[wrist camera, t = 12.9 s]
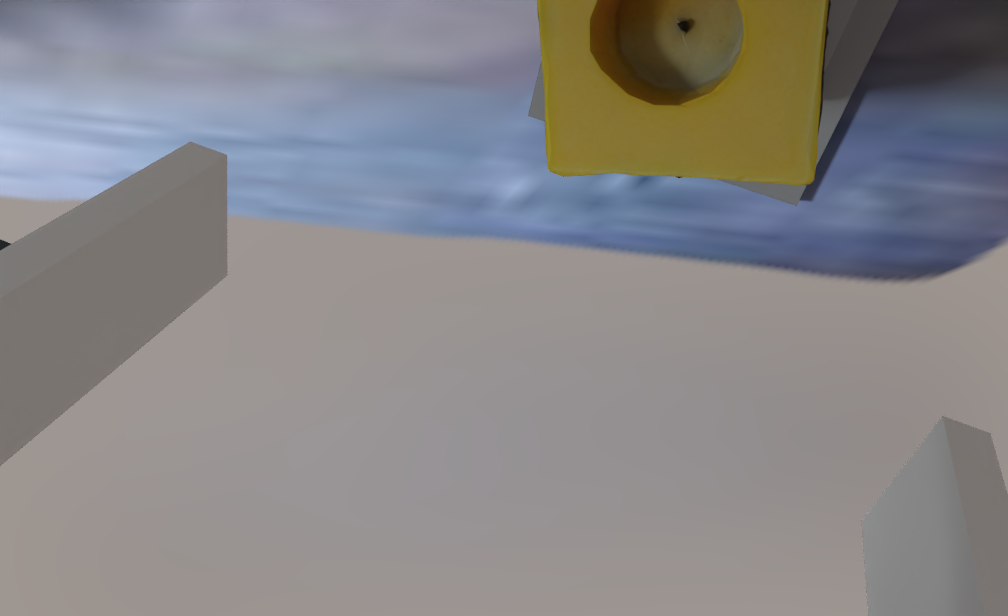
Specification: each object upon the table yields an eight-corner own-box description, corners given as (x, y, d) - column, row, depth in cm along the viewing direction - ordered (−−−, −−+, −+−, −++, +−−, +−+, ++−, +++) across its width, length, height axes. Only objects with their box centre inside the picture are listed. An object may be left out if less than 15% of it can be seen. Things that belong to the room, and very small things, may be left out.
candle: (820, 103, 35) (822, 193, 27) (598, 104, 39) (544, 185, 31) (847, -160, 30) (861, -141, 22) (588, -133, 33) (519, -109, 25)
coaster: (531, 111, 41) (527, 116, 40) (608, -205, 32) (605, -204, 32) (796, 200, 39) (796, 206, 38) (950, -111, 30) (953, -109, 30)
